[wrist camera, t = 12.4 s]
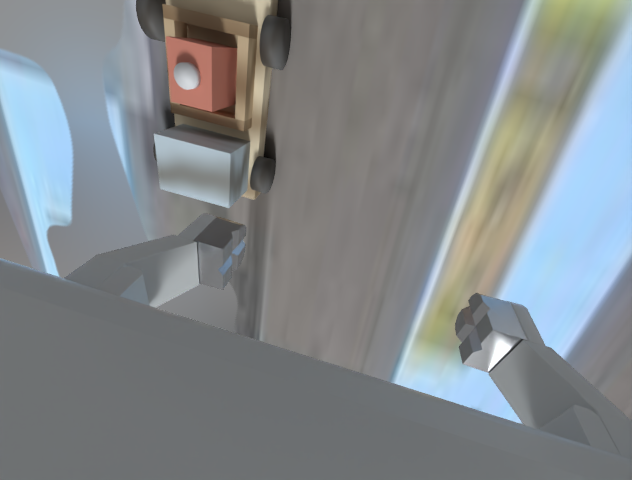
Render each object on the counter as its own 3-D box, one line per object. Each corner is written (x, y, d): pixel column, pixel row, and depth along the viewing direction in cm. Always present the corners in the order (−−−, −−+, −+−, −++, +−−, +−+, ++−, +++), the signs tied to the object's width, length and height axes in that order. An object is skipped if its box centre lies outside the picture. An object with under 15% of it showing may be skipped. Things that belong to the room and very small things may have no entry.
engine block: (198, 38, 28) (159, 35, 23) (237, 48, 28) (206, 46, 23) (199, 95, 31) (165, 102, 26) (235, 104, 31) (207, 113, 26)
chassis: (161, -30, 28) (100, -53, 22) (295, 0, 27) (269, -15, 21) (176, 170, 39) (139, 191, 33) (272, 196, 38) (251, 222, 32)
